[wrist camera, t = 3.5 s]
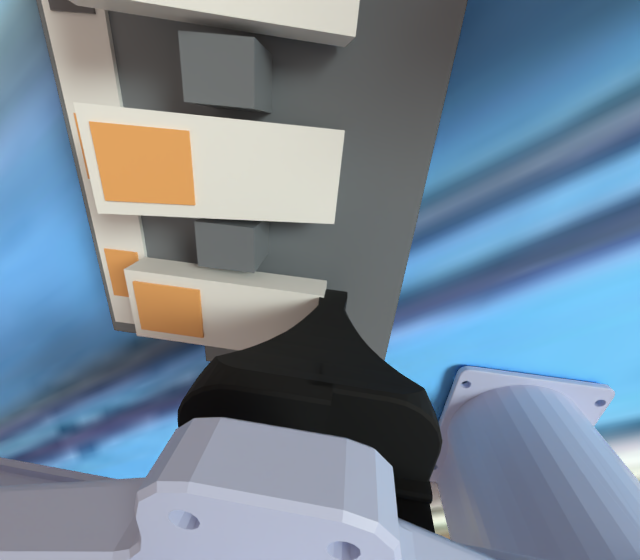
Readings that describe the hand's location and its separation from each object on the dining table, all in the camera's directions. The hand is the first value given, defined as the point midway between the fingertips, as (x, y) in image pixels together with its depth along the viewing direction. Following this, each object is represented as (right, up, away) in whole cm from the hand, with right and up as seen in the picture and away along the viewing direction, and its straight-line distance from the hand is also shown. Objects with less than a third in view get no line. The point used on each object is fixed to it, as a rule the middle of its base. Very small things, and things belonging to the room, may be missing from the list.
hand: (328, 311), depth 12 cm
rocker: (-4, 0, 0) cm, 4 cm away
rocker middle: (-3, +5, -3) cm, 6 cm away
